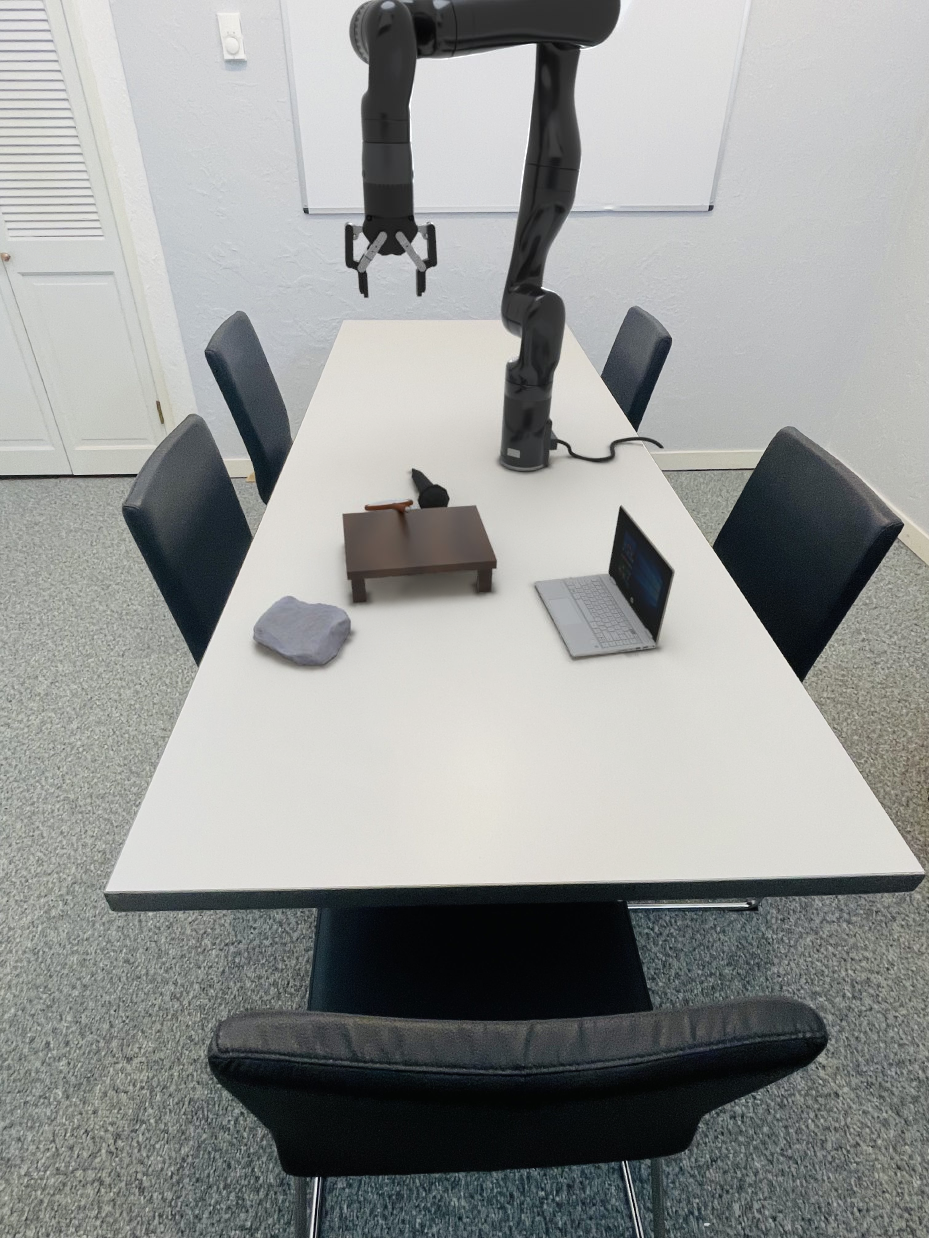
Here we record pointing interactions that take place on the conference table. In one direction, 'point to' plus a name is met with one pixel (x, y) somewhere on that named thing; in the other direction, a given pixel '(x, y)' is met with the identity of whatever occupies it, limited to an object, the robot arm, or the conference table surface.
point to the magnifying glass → (390, 505)
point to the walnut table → (416, 545)
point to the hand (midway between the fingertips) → (392, 296)
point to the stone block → (303, 630)
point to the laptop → (614, 597)
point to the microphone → (429, 492)
